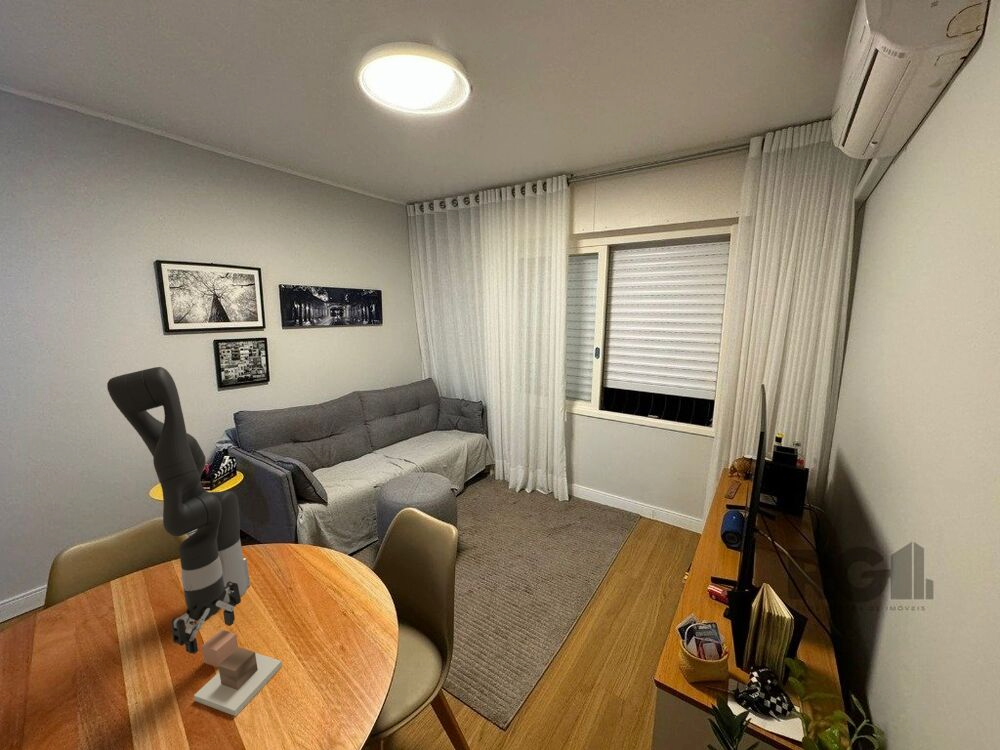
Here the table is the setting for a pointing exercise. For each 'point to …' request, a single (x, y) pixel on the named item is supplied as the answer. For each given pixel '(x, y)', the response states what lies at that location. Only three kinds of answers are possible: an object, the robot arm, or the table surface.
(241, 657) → the walnut brick
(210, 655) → the pink cube
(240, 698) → the base plate
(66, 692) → the table surface
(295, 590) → the table surface
